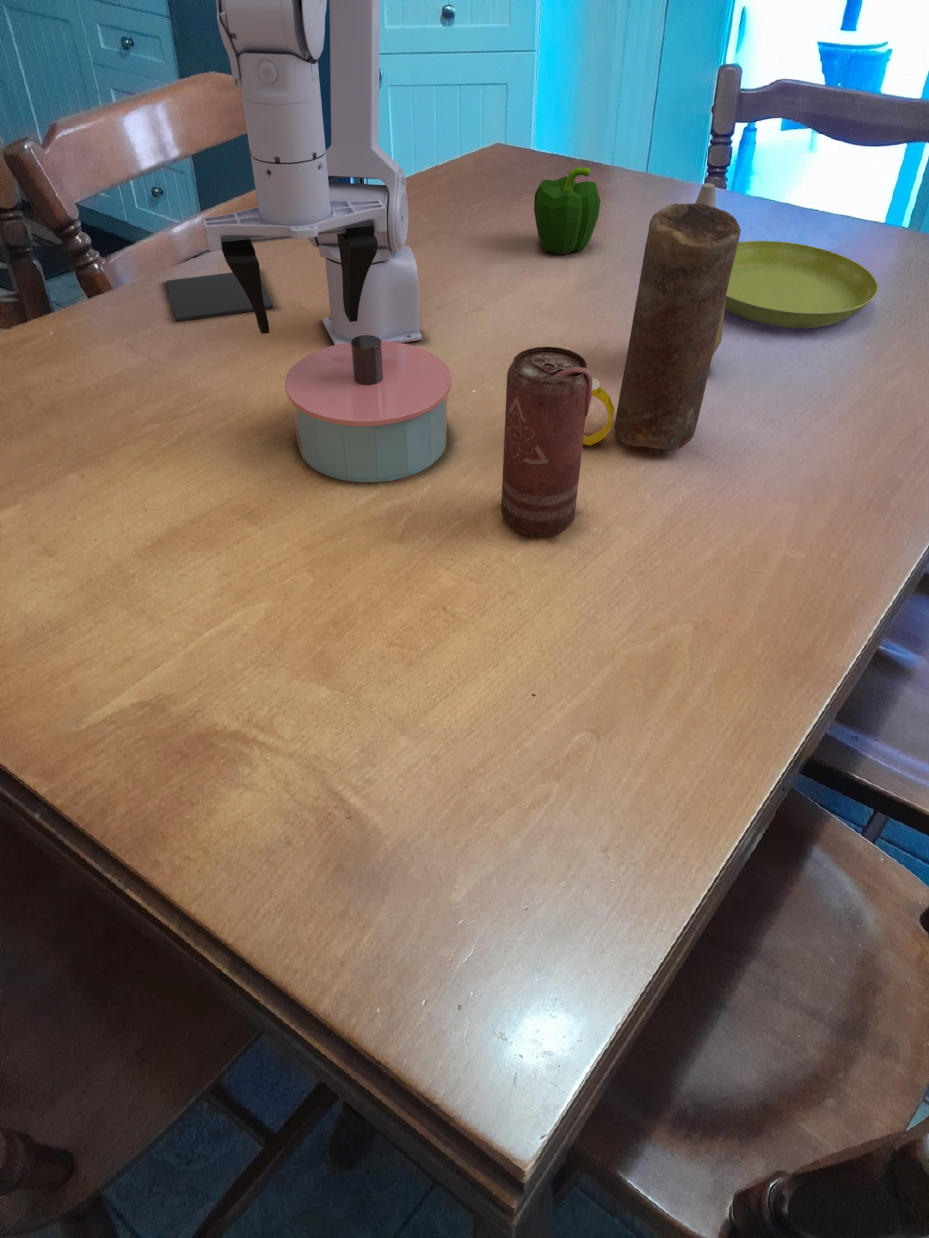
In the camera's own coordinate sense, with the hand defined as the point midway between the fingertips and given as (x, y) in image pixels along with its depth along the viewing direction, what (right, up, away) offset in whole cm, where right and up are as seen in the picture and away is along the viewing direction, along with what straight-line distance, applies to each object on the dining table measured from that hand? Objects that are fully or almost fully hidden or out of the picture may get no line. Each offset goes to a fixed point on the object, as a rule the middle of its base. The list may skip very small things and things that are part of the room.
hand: (307, 323), depth 78 cm
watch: (+24, -9, +6) cm, 26 cm away
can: (+20, -17, -3) cm, 27 cm away
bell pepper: (+27, +23, +41) cm, 54 cm away
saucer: (+51, +12, +29) cm, 60 cm away
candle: (+31, -9, +6) cm, 33 cm away
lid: (+5, -5, +1) cm, 7 cm away
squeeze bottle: (+36, +1, +17) cm, 40 cm away
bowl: (+5, -9, +5) cm, 12 cm away
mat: (-16, +13, +29) cm, 35 cm away
